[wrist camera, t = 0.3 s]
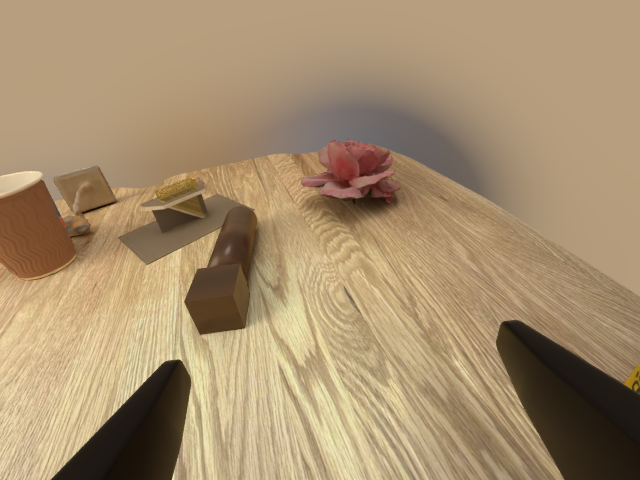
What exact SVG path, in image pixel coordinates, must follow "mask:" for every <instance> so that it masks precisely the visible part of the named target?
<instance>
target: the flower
mask: <svg viewBox="0 0 640 480" xmlns="http://www.w3.org/2000/svg"><path fill="white" fill-rule="evenodd" d="M389 154H390V153H389V150H388V151H387V152H386V151H384V150H381V149H378V148H376V146H373V145H370V146H368V145H366V144H364V143H360V142H359V141H350V140H348V139H347V142H344V141H343V145H342V144H341V143H340V142H337V141H336V140H334V141H331V142H329V144H328V146H327V147H325V148H322V149H321V150H320V151H319V155H318V157H319V161H320V163H321V164H322V165H323V166H324V167H326V168H327V169H328V170H327V172H324V173H321V174H316V175H312V176H306V177H304V178H302V180H301V184H302V185H303V186H306V187H323V188H322V190H321V191H320V192H319V194H320V195H323V196H327V197H331V198H338V199H342V200H345V201H348V200H353V202H354V199H356V198H361V197H371V198H384V199H387V202H388V203H389V202H392V201H394V198H393V196H392V195H391V193H393V192H394V191H396V190H397V189H400V188H401V187H399V186H398V185H397V184H396V183H395V182H394V181H391V180H387V179H386V178H388V177H390V176H392V175H393V174H394V173H395V171H390V172H384V171H385V170H387V169H388V168H390V167H391V166H392V164H393V157H392V156H391V157H388V156H389ZM381 172H382V173H381ZM378 173H379V174H378ZM354 204H355V202H354Z"/></svg>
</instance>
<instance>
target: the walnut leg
mask: <svg viewBox="0 0 640 480" xmlns="http://www.w3.org/2000/svg"><path fill="white" fill-rule="evenodd" d="M256 226H257V217H256V215H255V213H254V212H253V211H252V210H251V209H250V208H248V207H246V206H236V207H233V208H232V209H230V210H229V211H228V213H227V215H226V217H225V220H224V223H223V225H222V228H221V231H220V234H219V236H218V239H217V242H216V244H215V247H214V250H213V253H212V255H211V258H210V261H209V263H208V266H207V268H201V269H197V272H196V274H195V277H194V279H193V282H192V284H191V286H190V289H189V291H188V294H187V296H186V299H185V301H184V302H185V304H186V307H187V309H188V311H189V313H190V315H191V317H192V319H193V321H194V323H195V325H196V327H197V329H198V331H199V333H200V334H206V333H213V332H220V331H228V330H235V329H242V328H245V322H246V316H247V310H248V304H249V297H250V293H249V290H248V287H247V284H246V281H247V275H248V270H249V264H250V259H251V253H252V248H253V243H254V237H255V232H256Z"/></svg>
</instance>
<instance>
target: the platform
mask: <svg viewBox="0 0 640 480" xmlns="http://www.w3.org/2000/svg"><path fill="white" fill-rule="evenodd" d="M184 180H186V179H184ZM184 180H181V182H180V181H179V182H180V183H182V182H183V181H184ZM188 180H191V181H189V182H187V181H188ZM190 182H191V183H190ZM177 183H178V182H176V183H173V184H174V185H176V184H177ZM180 183H179V184H180ZM189 183H190V184H189ZM179 184H178V185H179ZM183 184H184V185H183ZM183 184H181V185H179V186H178V185H176V186H175V187H174V188H172V187H173V186H174V185H173V186H172V187H171V188H170V189H171V190H170V189H168V188H169V187H170V186H171V185H172V184H171V185H168V187H167V186H165V187H167V188H166V189H165V187H163V189H162V188H160V189H162V190H161V191H160V192H159V190H160V189H158V191H157V190H155V193H156V195H157V193H158V192H159V193H158V195H159V194H160V193H161V194H160V196H159V197H158V195H157V198H155V199H153V200H150V201H148V202H145V203H143V204H141V207H142V209H143V210H145V211H146V210H152V211H153V214H154V216H155V218H156V220H157V221H154V222H152V223H150V224H148V225H145V226H143V227H141V228H138V229H136V230H134V231H132V232H129V233H127V234H125V235H122V236H120V237H118V238H119V239H120V240H121V241H122V242H123V243H124V244H125V245H126V246H127V247H129V248H130V249H131V250H132V251H133V252H134V253H135V254H136V255H137V256H138V257H139V258H140V259H141V260H142V261H143V262H144V263H145V264H146V265H147V264H149V263H151V262H153V261H155V260H157V259H159V258H161V257H163V256H165V255H167V254H169V253H171V252H173V251H175V250H177V249H179V248H181V247H183V246H185V245H187V244H188V243H190V242H192V241H194V240H196V239H198V238H200V237H202V236H204V235H206V234H208V233H210V232H212V231H214V230H216V229H218V228H220V227H222V225H223V223H224V220H225V217H226V215H227V213H228V211H229V210H230V209H232V208H233V207H236V206H245V205H242V204H240V203H238V202H235V201H233V200H231V199H228V198H226V197H223V196H221V195H219V194H216V195H214V196H212V197H209V198H207V199H205V200H203V197H202V195H201V194H202V193H204V192H205V191H206V187H205V183H204V182H202V181H199V182H196V181H195V179H193V178H191V177H189V179H188V178H187V180H186V181H185V182H184V183H183ZM188 184H189V185H188ZM182 185H183V186H182ZM186 185H187V186H186ZM181 186H182V187H181ZM185 186H186V187H185ZM176 187H177V188H176ZM180 187H181V188H180ZM175 188H176V189H175ZM179 188H180V189H179ZM164 189H165V190H164ZM167 189H168V190H167ZM174 189H175V190H174ZM163 190H164V191H163ZM169 190H170V191H169ZM173 190H174V191H173ZM162 191H163V192H162ZM165 191H166V192H165ZM168 191H169V192H168ZM172 191H173V192H172ZM164 192H165V193H164ZM167 192H168V193H167ZM166 193H167V194H166ZM162 194H163V195H162ZM161 195H162V196H161ZM246 207H247V206H246ZM248 208H250V207H248ZM250 209H251V210H252V211H253V210H254V209H252V208H250Z"/></svg>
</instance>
